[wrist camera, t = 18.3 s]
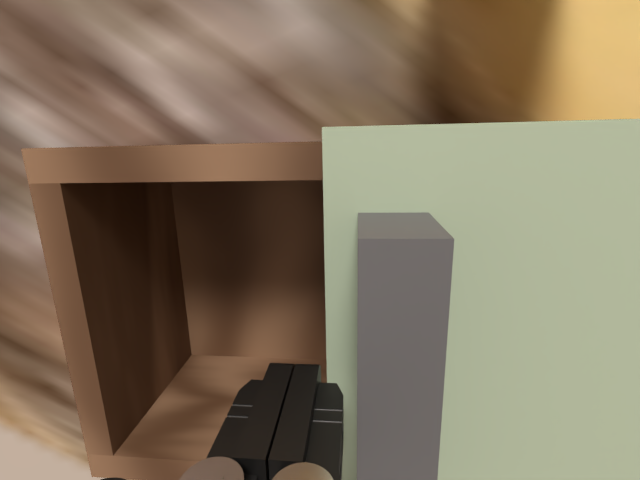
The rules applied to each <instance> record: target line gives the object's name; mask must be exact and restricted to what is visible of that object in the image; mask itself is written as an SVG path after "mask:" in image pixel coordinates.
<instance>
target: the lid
mask: <svg viewBox="0 0 640 480" xmlns="http://www.w3.org/2000/svg"><path fill="white" fill-rule="evenodd" d="M322 157H323V208H324V259H325V310H326V360H327V383H337V384H338V386H339V388H340V390H341V392H342V394H343V409H344V441H343V461H342V480H640V119H613V120H575V121H537V122H499V123H461V124H423V125H384V126H346V127H322Z"/></svg>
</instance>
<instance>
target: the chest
mask: <svg viewBox="0 0 640 480" xmlns="http://www.w3.org/2000/svg"><path fill="white" fill-rule="evenodd" d="M21 150H22V155H23V160H24V164H25V169H26V174H27V178H28V183H29V188H30V192H31V197H32V201H33V206H34V211H35V215H36V220H37V225H38V229H39V234H40V238H41V243H42V248H43V252H44V257H45V262H46V266H47V271H48V276H49V280H50V285H51V289H52V294H53V299H54V303H55V308H56V313H57V317H58V322H59V327H60V331H61V336H62V340H63V345H64V350H65V354H66V359H67V364H68V368H69V373H70V378H71V382H72V387H73V391H74V396H75V401H76V405H77V410H78V415H79V419H80V424H81V429H82V433H83V438H84V442H85V447H86V452H87V456H88V461H89V466H90V470H91V475H92V477H104V478H114V477H117V478H123V479H132V480H179V479H180V478H181V476H182V475H183V474H184V473H185V472H186V471H187V470H188V469H189V468H190V467H191V466H193V465H194V464H196V463H197V462H199V461H202V460H204V459H206V457H207V455H208V453H209V451H210V449H211V447H212V445H213V443H214V441H215V439H216V437H217V435H218V433H219V430H220V428H221V426H222V424H223V422H224V420H225V418H226V417H227V414H228V412H229V410H230V408H231V406H232V404H233V401H234V399H235V397H236V395H237V393H238V391H239V390H240V389H241V388H242V387H243V386H244V385H245V384H247V383H248V382H249V381H250V380H251V379H254V380H263V378H264V376H265V373H266V371H267V368H268V366H269V364H270V363H292V364H295V365H296V364H318V365H320V366H321V383H327V360H326V310H325V259H324V208H323V157H322V142H280V143H236V144H191V145H147V146H108V147H68V148H28V149H21Z"/></svg>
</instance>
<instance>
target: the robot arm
mask: <svg viewBox="0 0 640 480" xmlns="http://www.w3.org/2000/svg"><path fill="white" fill-rule="evenodd" d="M343 441H344V409H343V394H342V392H341V390H340V388H339V386H338V384H337V383H321V366H320V365H318V364H296V365H295V364H292V363H270V364H269V366H268V368H267V371H266V373H265V376H264V378H263V380H254V379H251V380H250V381H249V382H248V383H247V384H245V385H244V386H243V387H242V388H241V389H240V390H239V391H238V393H237V395H236V397H235V399H234V401H233V404H232V406H231V408H230V410H229V412H228V414H227V417H226V418H225V420H224V422H223V424H222V426H221V428H220V430H219V433H218V435H217V437H216V439H215V441H214V443H213V445H212V447H211V449H210V451H209V453H208V455H207V457H206V459H204V460H202V461H199V462H197V463H196V464H194V465H193V466H191V467H190V468H189V469H188V470H187V471H186V472H185V473H184V474H183V475H182V476H181V478H180V479H179V480H342V461H343ZM102 480H126V479H123V478H117V477H114V478H105V479H102Z"/></svg>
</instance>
